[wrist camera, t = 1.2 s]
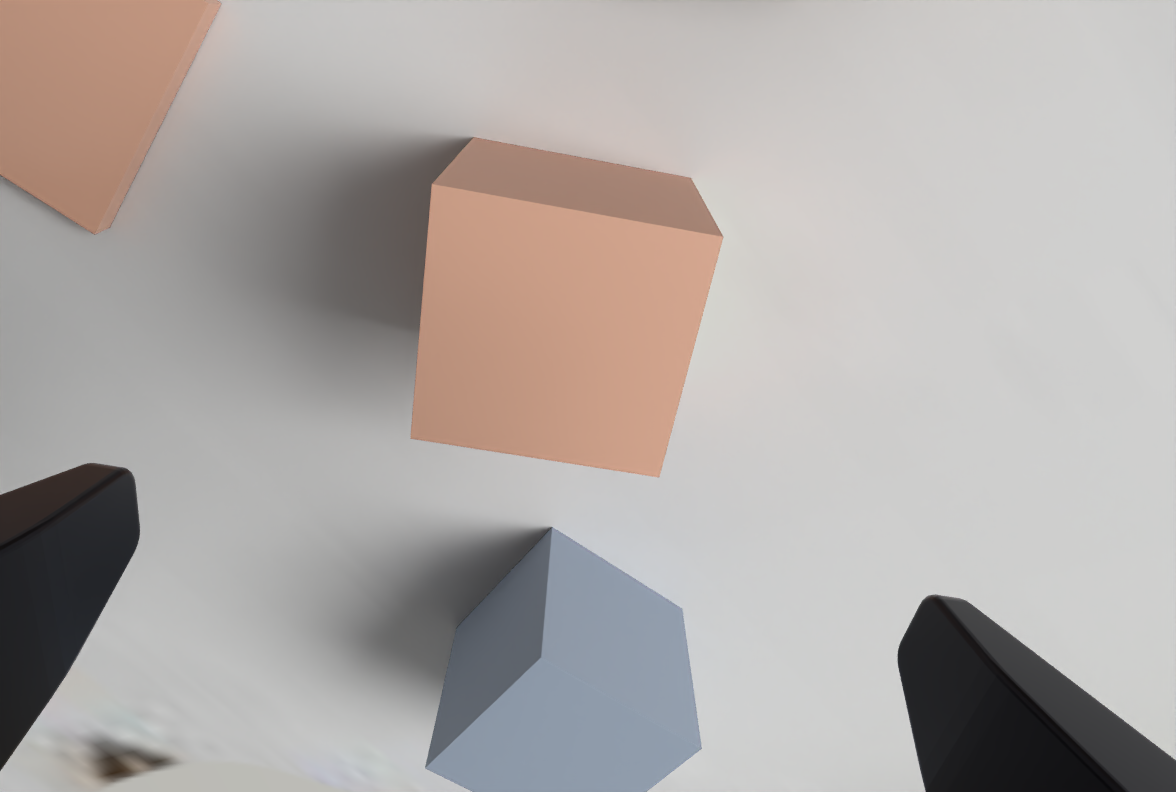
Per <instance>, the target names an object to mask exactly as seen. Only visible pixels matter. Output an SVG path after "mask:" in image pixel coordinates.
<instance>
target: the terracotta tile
mask: <svg viewBox="0 0 1176 792" xmlns="http://www.w3.org/2000/svg"><path fill="white" fill-rule="evenodd" d="M220 5H221V3H220V2H219V1H217V0H0V175H1V176H3V177H4V178H6V179H8V180H9V181H11V182H12V183H14V184H16V185H17V186H19V187H20V188H22V189H23V190H25V191H27V192H28V193H30V194H31V195H33V196H35V197H36V198H38V199H39V200H41V201H42V202H44V203H46V204H47V205H49V206H50V207H52V208H54V209H55V210H57V211H58V212H60V213H61V214H63V215H65V216H66V217H68V218H69V219H71V220H72V221H74V222H76V223H77V224H79V225H80V226H82V227H84V228H85V229H87V230H88V231H90V232H91V233H93V234H97V233H99V232H101V231H104V230H106V229H108V228H110V226H111V224H112V222H113V220H114V218H115V216H116V214H117V212H118V210H119V208H120V206H121V204H122V202H123V200H124V198H125V196H126V194H127V192H128V190H129V188H130V186H131V184H132V182H133V180H134V178H135V176H136V174H137V172H138V170H139V168H140V166H141V164H142V162H143V160H144V158H145V156H146V154H147V152H148V150H149V148H150V146H151V144H152V142H153V140H154V138H155V136H156V134H157V132H158V130H159V128H160V126H161V124H162V122H163V120H164V118H165V116H166V114H167V112H168V110H169V108H170V106H171V104H172V102H173V100H174V98H175V96H176V94H177V92H178V90H179V88H180V86H181V84H182V82H183V80H184V78H185V76H186V74H187V72H188V70H189V68H190V66H191V64H192V62H193V60H194V58H195V55H196V53H197V51H198V49H199V47H200V45H201V43H202V41H203V39H204V37H205V35H206V33H207V31H208V29H209V27H210V25H211V23H212V21H213V19H214V17H215V15H216V13H217V11H218V9H219V7H220Z"/></svg>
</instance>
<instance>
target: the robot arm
mask: <svg viewBox="0 0 1176 792" xmlns="http://www.w3.org/2000/svg"><path fill="white" fill-rule="evenodd" d="M139 535H140V524H139V514H138V504H137V494H136V484H135V479H134V476H133V474H132V473H131V472H130V471H129V470H128V469H126V468H123V467H116V466H110V465H104V464H97V463H87V464H84V465H81V466H78V467H76V468H73V469H70V470H67V471H65V472H62V473H59V474H56V475H54V476H51V477H48V478H45V479H43V480H40V481H37V482H35V483H32V484H29V485H26V486H24V487H21V488H18V489H15V490H13V491H10V492H7V493H4V494H2V495H0V771H1V769H2V768H3V766H4V765H5V764H6V762H7V761H8V759H9V758H10V756H11V755H12V754H13V752H14V751H15V749H16V748H17V746H18V745H19V743H20V742H21V741H22V739H23V738H24V736H25V735H26V733H27V732H28V731H29V729H30V728H31V726H32V725H33V723H34V722H35V721H36V719H37V718H38V716H39V715H40V713H41V712H42V710H43V709H44V708H45V706H46V705H47V703H48V702H49V700H50V699H51V698H52V696H53V695H54V693H55V692H56V690H57V689H58V687H59V685H60V684H61V682H62V681H63V679H64V678H65V676H66V675H67V673H68V671H69V670H70V668H71V666H72V665H73V663H74V661H75V660H76V658H77V656H78V654H79V653H80V651H81V649H82V647H83V645H84V643H85V642H86V640H87V638H88V636H89V634H90V632H91V631H92V629H93V627H94V625H95V623H96V622H97V620H98V618H99V616H100V614H101V612H102V611H103V609H104V607H105V605H106V603H107V601H108V600H109V598H110V596H111V594H112V592H113V591H114V589H115V587H116V585H117V583H118V581H119V580H120V578H121V576H122V574H123V572H124V570H125V569H126V567H127V565H128V563H129V561H130V559H131V558H132V556H133V554H134V552H135V550H136V547H137V544H138V541H139ZM898 668H899V672H900V677H901V682H902V686H903V691H904V696H905V700H906V705H907V710H908V714H909V719H910V724H911V728H912V733H913V738H914V742H915V747H916V752H917V756H918V761H919V766H920V770H921V774H922V778H923V782H924V786H925V790H926V792H1176V760H1175V759H1173V758H1172V757H1171V756H1169V755H1168V754H1167V753H1165V752H1164V751H1163V750H1162V749H1160V748H1159V747H1158V746H1156V745H1155V744H1154V743H1152V742H1151V741H1150V740H1148V739H1147V738H1146V737H1145V736H1143V735H1142V734H1141V733H1139V732H1138V731H1137V730H1135V729H1134V728H1133V727H1131V726H1130V725H1129V724H1127V723H1126V722H1125V721H1124V720H1122V719H1121V718H1120V717H1118V716H1117V715H1116V714H1114V713H1113V712H1112V711H1110V710H1109V709H1108V708H1106V707H1105V706H1104V705H1103V704H1101V703H1100V702H1099V701H1097V700H1096V699H1095V698H1093V697H1092V696H1091V695H1089V694H1088V693H1087V692H1086V691H1084V690H1083V689H1082V688H1080V687H1079V686H1078V685H1076V684H1075V683H1074V682H1072V681H1071V680H1070V679H1068V678H1067V677H1066V676H1065V675H1063V674H1062V673H1061V672H1059V671H1058V670H1057V669H1055V668H1054V667H1053V666H1051V665H1050V664H1049V663H1048V662H1046V661H1045V660H1044V659H1042V658H1041V657H1040V656H1038V655H1037V654H1036V653H1034V652H1033V651H1032V650H1030V649H1029V648H1028V647H1027V646H1025V645H1024V644H1023V643H1021V642H1020V641H1019V640H1017V639H1016V638H1015V637H1013V636H1012V635H1011V634H1010V633H1008V632H1007V631H1006V630H1004V629H1003V628H1002V627H1000V626H999V625H998V624H996V623H995V622H994V621H992V620H991V619H990V618H989V617H987V616H986V615H985V614H983V613H982V612H981V611H979V610H978V609H977V608H975V607H974V606H973V605H972V604H970V603H969V602H967V601H965V600H963V599H960V598H954V597H947V596H941V595H930V596H927V597H926V598H925V599H924V600H923V601H922V602H921V604H920V606H919V608H918V609H917V611H916V613H915V615H914V617H913V619H912V621H911V623H910V625H909V627H908V629H907V631H906V633H905V635H904V637H903V639H902V641H901V643H900V645H899V649H898Z"/></svg>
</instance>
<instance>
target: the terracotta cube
mask: <svg viewBox="0 0 1176 792" xmlns="http://www.w3.org/2000/svg"><path fill="white" fill-rule="evenodd" d="M722 240H723V236H722V234H721V232H720V230H719V228H718V226H717V225H716V223H715V221H714V219H713V217H712V216H711V214H710V212H709V210H708V208H707V206H706V205H705V203H704V201H703V199H702V197H701V196H700V194H699V192H698V190H697V188H696V186H695V185H694V183H693V181H692V179H691V178H688V177H683V176H677V175H672V174H667V173H661V172H656V171H651V170H645V169H640V168H635V167H629V166H624V165H619V164H613V163H608V162H603V161H597V160H592V159H587V158H581V157H576V156H571V155H565V154H560V153H555V152H549V151H544V150H539V149H533V148H528V147H523V146H517V145H512V144H507V143H501V142H496V141H491V140H485V139H480V138H475V137H473V138H472V140H471V141H470V142H469V143H468V144H467V145H466V146H465V147H464V149H463V150H462V151H461V152H460V153H459V154H458V155H457V156H456V158H455V159H454V160H453V161H452V162H451V163H450V164H449V165H448V166H447V168H446V169H445V170H444V171H443V172H442V173H441V174H440V175H439V177H438V178H437V179H436V180H435V181H434V182H433V183H432V188H431V200H430V212H429V224H428V236H427V248H426V260H425V272H424V283H423V295H422V307H421V319H420V331H419V343H418V355H417V367H416V379H415V391H414V403H413V415H412V427H411V439H417V440H423V441H430V442H436V443H443V444H449V445H455V446H462V447H468V448H475V449H481V450H487V451H494V452H500V453H507V454H513V455H519V456H526V457H532V458H539V459H545V460H551V461H558V462H564V463H571V464H577V465H584V466H590V467H596V468H603V469H609V470H616V471H622V472H628V473H635V474H641V475H648V476H654V477H659V476H660V472H661V469H662V465H663V461H664V457H665V454H666V450H667V446H668V442H669V439H670V435H671V431H672V427H673V424H674V420H675V416H676V412H677V409H678V405H679V401H680V397H681V394H682V390H683V386H684V382H685V379H686V375H687V371H688V367H689V364H690V360H691V356H692V352H693V349H694V345H695V341H696V337H697V334H698V330H699V326H700V322H701V319H702V315H703V311H704V307H705V304H706V300H707V296H708V292H709V289H710V285H711V281H712V277H713V274H714V270H715V266H716V262H717V259H718V255H719V251H720V247H721V244H722Z"/></svg>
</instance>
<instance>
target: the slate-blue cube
mask: <svg viewBox="0 0 1176 792" xmlns="http://www.w3.org/2000/svg"><path fill="white" fill-rule="evenodd" d="M701 749H702V747H701V740H700V732H699V725H698V718H697V711H696V704H695V697H694V690H693V683H692V675H691V668H690V661H689V654H688V647H687V640H686V633H685V626H684V619H683V611H682V608H680V607H679V606H677V605H675V604H674V603H672V602H671V601H669V600H668V599H666V598H664V597H663V596H661V595H660V594H658V593H656V592H655V591H653V590H652V589H650V588H648V587H647V586H645V585H644V584H642V583H641V582H639V581H637V580H636V579H634V578H633V577H631V576H629V575H628V574H626V573H625V572H623V571H621V570H620V569H618V568H617V567H615V566H614V565H612V564H610V563H609V562H607V561H606V560H604V559H602V558H601V557H599V556H598V555H596V554H594V553H593V552H591V551H590V550H588V549H587V548H585V547H583V546H582V545H580V544H579V543H577V542H575V541H574V540H572V539H571V538H569V537H567V536H566V535H564V534H563V533H561V532H559V531H558V530H556V529H555V528H553V527H552V528H551V529H550V530H549V531H548V532H547V533H546V534H545V535H544V536H543V537H542V538H541V539H540V540H539V541H538V542H537V544H536V545H535V546H534V547H533V548H532V549H531V550H530V551H529V552H528V553H527V554H526V555H525V556H524V557H523V558H522V559H521V560H520V561H519V562H518V564H517V565H516V566H515V567H514V568H513V569H512V570H511V571H510V572H509V573H508V574H507V575H506V576H505V577H504V578H503V579H502V580H501V581H500V583H499V584H498V585H497V586H496V587H495V588H494V589H493V590H492V591H491V592H490V593H489V594H488V595H487V596H486V597H485V598H484V599H483V600H482V601H481V603H480V604H479V605H478V606H477V607H476V608H475V609H474V610H473V611H472V612H471V613H470V614H469V615H468V616H467V617H466V618H465V619H464V620H463V622H462V623H461V624H460V625H459V626H458V627H457V628H456V632H455V637H454V641H453V646H452V650H451V655H450V659H449V664H448V668H447V673H446V677H445V682H444V686H443V690H442V695H441V699H440V704H439V708H438V713H437V717H436V722H435V726H434V731H433V735H432V740H431V744H430V748H429V753H428V757H427V762H426V766H425V768H426V769H428V770H430V771H432V772H434V773H436V774H438V775H440V776H442V777H444V778H446V779H448V780H450V781H452V782H454V783H456V784H458V785H460V786H462V787H464V788H466V789H468V790H470V791H472V792H647V791H648V790H649V789H650V788H652V787H653V786H654V785H656V784H657V783H658V782H659V781H661V780H662V779H663V778H665V777H666V776H667V775H668V774H670V773H671V772H672V771H674V770H675V769H676V768H677V767H679V766H680V765H681V764H683V763H684V762H685V761H686V760H688V759H689V758H690V757H692V756H693V755H694V754H695V753H697V752H698V751H699V750H701Z"/></svg>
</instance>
